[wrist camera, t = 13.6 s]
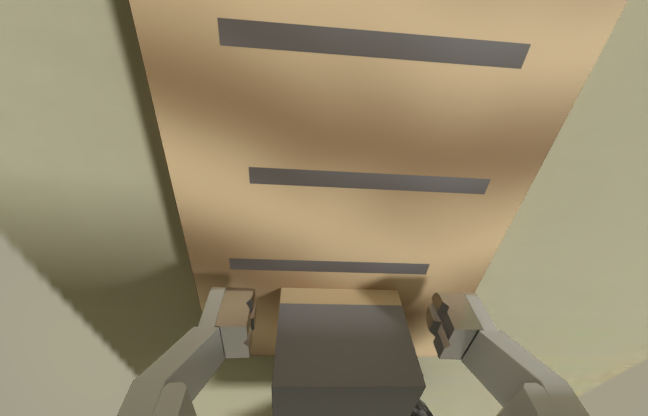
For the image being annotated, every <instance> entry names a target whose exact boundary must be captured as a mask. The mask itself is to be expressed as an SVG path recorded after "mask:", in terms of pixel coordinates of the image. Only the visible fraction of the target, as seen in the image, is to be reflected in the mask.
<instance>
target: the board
mask: <svg viewBox="0 0 648 416" xmlns="http://www.w3.org/2000/svg"><path fill="white" fill-rule="evenodd" d="M627 2H628V0H129V3H130V7H131V11H132V16H133V20H134V24H135V28H136V33H137V37H138V41H139V45H140V50H141V54H142V58H143V63H144V67H145V71H146V75H147V80H148V84H149V88H150V92H151V97H152V101H153V105H154V110H155V114H156V118H157V122H158V127H159V131H160V135H161V140H162V144H163V148H164V152H165V157H166V161H167V165H168V169H169V174H170V178H171V182H172V187H173V191H174V195H175V199H176V204H177V208H178V212H179V217H180V221H181V225H182V229H183V234H184V238H185V242H186V246H187V251H188V255H189V259H190V264H191V268H192V272H193V276H194V281H195V285H196V289H197V294H198V298H199V302H200V306H201V311H202V313H203V310H204V307H205V304H206V301H207V298H208V295H209V292H210V290H211V288H212V287H232V288H253V289H255V294H256V296H255V302H256V322H255V329H254V330H253V331H252V338H253V341H252V347H251V353H250V355H274V356H275V347H276V337H277V326H278V316H279V306H280V296H281V288H319V289H366V290H398V294H399V297H400V300H401V304H402V307H403V311H404V314H405V317H406V321H407V324H408V327H409V331H410V334H411V338H412V341H413V344H414V348H415V351H416V355H417V356H438V354H437V352H436V349H435V346H434V343H433V341H434V338H435V336H434V335H433V334H432V333H431V332H430V331H429V329H428V326H427V322H426V311H427V309H428V306H429V305H431V304H432V303H433V301H432V296H433V294H434V293H436V292H460V293H475V291H476V289H477V287H478V285H479V283H480V281H481V279H482V277H483V276H484V274H485V272H486V270H487V268H488V266H489V264H490V262H491V260H492V258H493V257H494V255H495V253H496V251H497V249H498V247H499V245H500V243H501V241H502V239H503V238H504V236H505V234H506V232H507V230H508V228H509V226H510V224H511V222H512V220H513V219H514V217H515V215H516V213H517V211H518V209H519V207H520V205H521V203H522V201H523V200H524V198H525V196H526V194H527V192H528V190H529V188H530V186H531V184H532V182H533V181H534V179H535V177H536V175H537V173H538V171H539V169H540V167H541V165H542V163H543V162H544V160H545V158H546V156H547V154H548V152H549V150H550V148H551V146H552V144H553V143H554V141H555V139H556V137H557V135H558V133H559V131H560V129H561V127H562V126H563V124H564V122H565V120H566V118H567V116H568V114H569V112H570V110H571V108H572V107H573V105H574V103H575V101H576V99H577V97H578V95H579V93H580V91H581V89H582V88H583V86H584V84H585V82H586V80H587V78H588V76H589V74H590V72H591V70H592V69H593V67H594V65H595V63H596V61H597V59H598V57H599V55H600V53H601V51H602V50H603V48H604V46H605V44H606V42H607V40H608V38H609V36H610V34H611V32H612V31H613V29H614V27H615V25H616V23H617V21H618V19H619V17H620V15H621V13H622V12H623V10H624V8H625V6H626V4H627Z"/></svg>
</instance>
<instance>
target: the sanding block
mask: <svg viewBox="0 0 648 416" xmlns="http://www.w3.org/2000/svg"><path fill="white" fill-rule="evenodd" d="M425 387H426V385H425V382H424V378H423V375H422V371H421V368H420V365H419V361H418V358H417V355H416V351H415V348H414V344H413V341H412V338H411V334H410V331H409V327H408V324H407V321H406V317H405V314H404V311H403V307H402V304H401V300H400V297H399V294H398V290H366V289H319V288H281V296H280V306H279V316H278V326H277V337H276V347H275V357H274V367H273V378H272V408H273V416H411V414H412V412H413V410H414V408H415V406H416V404H417V403H418V401H419V399H420V397H421V395H422V393H423V391H424V389H425Z"/></svg>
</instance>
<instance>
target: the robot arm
mask: <svg viewBox="0 0 648 416" xmlns="http://www.w3.org/2000/svg"><path fill="white" fill-rule="evenodd" d="M255 296H256V294H255V289H253V288H232V287H212V288H211V290H210V292H209V295H208V298H207V301H206V304H205V307H204V310H203V313H202V315H201V318H200V321H199V324H198V327H193V328H191V329H190V330H189V331H188V332H187V333H186V334H185V335H184V336H183V337H181V338H180V339H179V340H178V341H177V342H176V343H175V344H174V345H172V346H171V347H170V348H169V349H168V350H167V351H166V352H165V353H164V354H162V355H161V356H160V357H159V358H158V359H157V360H156V361H155V362H154V363H152V364H151V365H150V366H149V367H148V368H147V369H146V370H145V371H144V372H142V373H141V374H140V375H139V376H138V377H137V378H136V379H135V380H134V381H133V382H132V384H131V386H130V389H129V391H128V393H127V395H126V397H125V399H124V401H123V403H122V406H121V408H120V410H119V412H118V414H117V416H197V415H196V412H195V410H194V407H193V404H192V401H193V400H194V398H195V397H196V396H197V395H198V393H199V392H200V391H201V390H202V388H203V387H204V386H205V385H206V383H207V382H208V381H209V380H210V378H211V377H212V376H213V374H214V373H215V372H216V371H217V369H218V368H219V367H220V366H221V364H222V363H223V362H224V361H225V358H250V353H251V347H252V341H253V338H252V331H253V330H254V329H255V322H256V302H255ZM432 301H433V303H432V304H431V305H429V306H428V309H427V311H426V322H427V326H428V329H429V331H430V332H431V333H432V334H433V335H434V336H435V338H434V341H433V343H434V346H435V349H436V352H437V354H438V357H439V359H456V360H461V361H462V362H463V363H464V364H465V366H466V367H467V368H468V369H469V370H470V371H471V372H472V373H473V374H474V375H475V377H476V378H477V379H478V380H479V381H480V382H481V383H482V384H483V385H484V386H485V388H486V389H487V390H488V391H489V392H490V393H491V394H492V395H493V396H494V397H495V399H496V400H497V401H498V402H499V403H500V404H501V405H502V406H503V408H502V409H501V411H500V412H499V413H498V414H497V415H496V416H589V414H588V413H587V411H586V409H585V408H584V407H583V405H582V404H581V402H580V400H579V399H578V397H577V396H576V394H575V393H574V391H573V390H572V388H571V387H570V385H569V384H568V382H567V381H565V380H564V379H563V378H562V377H560V376H559V375H558V374H556V373H555V372H554V371H553V370H551V369H550V368H549V367H547V366H546V365H545V364H544V363H542V362H541V361H540V360H538V359H537V358H536V357H535V356H533V355H532V354H531V353H529V352H528V351H527V350H526V349H524V348H523V347H522V346H520V345H519V344H518V343H517V342H515V341H514V340H513V339H511V338H510V337H509V336H508V335H506V334H505V333H504V332H502V331H498V330H497V328H496V327H495V325H494V323H493V321H492V320H491V318H490V316H489V314H488V313H487V311H486V309H485V307H484V305H483V304H482V302H481V300H480V298H479V297H478V295H477V294H476V293H460V292H436V293H434V294H433V296H432Z"/></svg>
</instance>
